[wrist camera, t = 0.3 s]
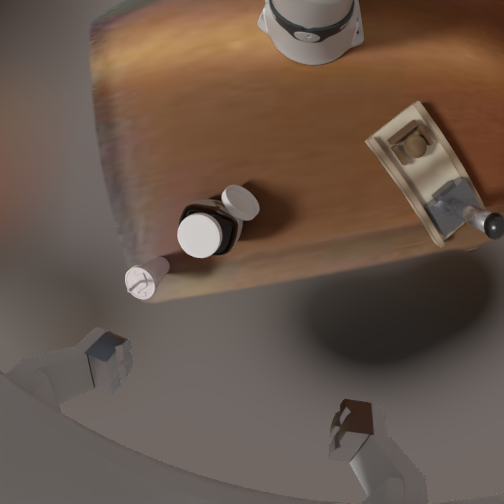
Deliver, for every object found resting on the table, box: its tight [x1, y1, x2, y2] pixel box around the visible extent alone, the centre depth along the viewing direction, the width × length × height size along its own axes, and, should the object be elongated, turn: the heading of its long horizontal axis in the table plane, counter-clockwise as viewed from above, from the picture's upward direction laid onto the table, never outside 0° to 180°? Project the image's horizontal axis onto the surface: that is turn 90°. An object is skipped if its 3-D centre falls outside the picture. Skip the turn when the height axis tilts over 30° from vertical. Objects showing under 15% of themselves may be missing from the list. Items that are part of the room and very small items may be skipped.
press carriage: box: [424, 177, 504, 240], centre depth 40 cm, size 7×9×18 cm
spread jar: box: [178, 185, 260, 258], centre depth 52 cm, size 12×11×12 cm
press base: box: [365, 101, 486, 248], centre depth 48 cm, size 23×12×4 cm, turn 41°
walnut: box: [404, 134, 427, 158], centre depth 45 cm, size 4×4×4 cm
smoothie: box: [125, 257, 170, 299], centre depth 57 cm, size 6×6×14 cm
